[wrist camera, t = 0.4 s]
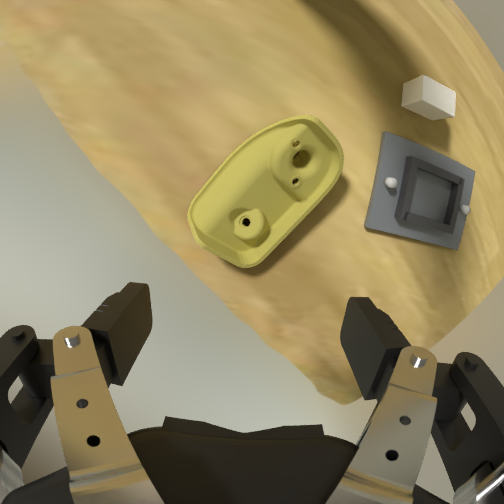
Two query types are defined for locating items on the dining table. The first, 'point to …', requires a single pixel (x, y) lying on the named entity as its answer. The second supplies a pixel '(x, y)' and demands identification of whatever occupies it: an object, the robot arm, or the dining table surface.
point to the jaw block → (428, 98)
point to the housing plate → (419, 193)
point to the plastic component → (265, 189)
